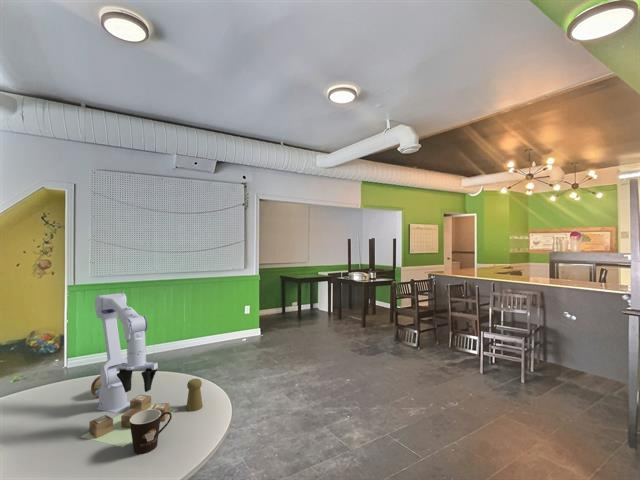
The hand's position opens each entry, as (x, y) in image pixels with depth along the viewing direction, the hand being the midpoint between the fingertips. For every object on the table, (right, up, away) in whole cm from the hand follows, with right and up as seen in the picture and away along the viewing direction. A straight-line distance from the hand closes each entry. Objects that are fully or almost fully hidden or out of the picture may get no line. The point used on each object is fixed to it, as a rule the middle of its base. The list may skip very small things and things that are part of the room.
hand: (137, 390), depth 113 cm
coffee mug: (+11, -12, -12) cm, 20 cm away
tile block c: (-5, -12, +11) cm, 17 cm away
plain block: (-2, -12, 0) cm, 12 cm away
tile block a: (-10, -12, -5) cm, 16 cm away
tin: (-26, -13, +26) cm, 39 cm away
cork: (+15, -12, +12) cm, 23 cm away
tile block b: (+6, -12, +4) cm, 14 cm away
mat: (-3, -12, +2) cm, 13 cm away
